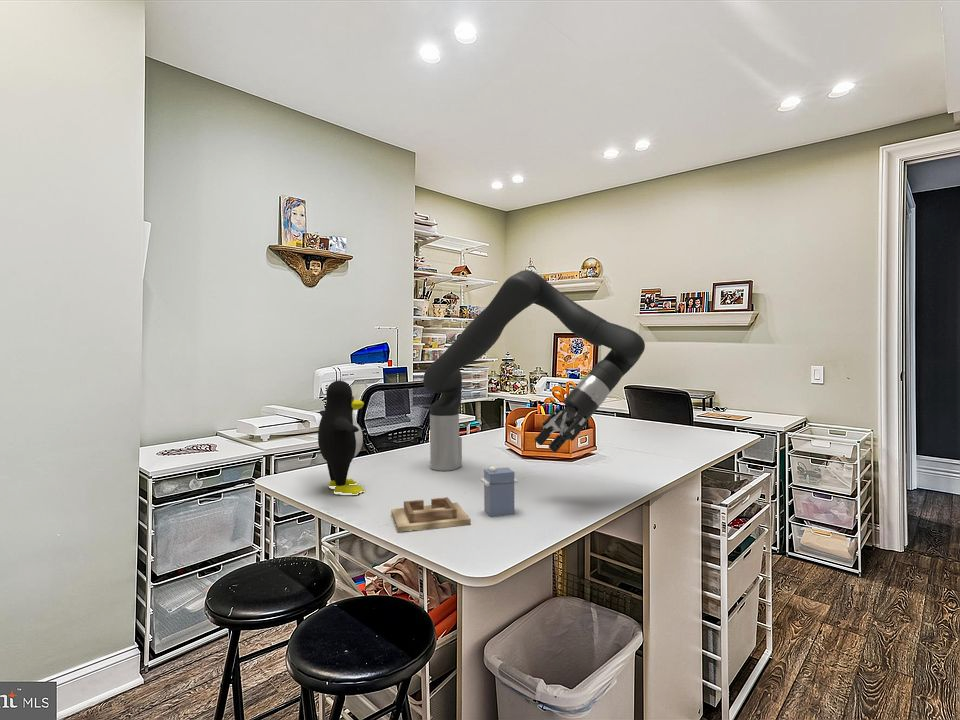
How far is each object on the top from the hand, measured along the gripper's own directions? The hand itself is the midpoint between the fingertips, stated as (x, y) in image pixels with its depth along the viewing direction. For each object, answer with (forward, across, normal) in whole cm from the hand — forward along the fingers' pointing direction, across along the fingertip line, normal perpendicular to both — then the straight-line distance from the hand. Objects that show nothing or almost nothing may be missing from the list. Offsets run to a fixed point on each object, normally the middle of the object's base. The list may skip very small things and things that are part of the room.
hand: (544, 446), depth 123 cm
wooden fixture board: (+30, 0, -9) cm, 32 cm away
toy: (+44, -30, -22) cm, 58 cm away
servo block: (+19, 0, +2) cm, 19 cm away
